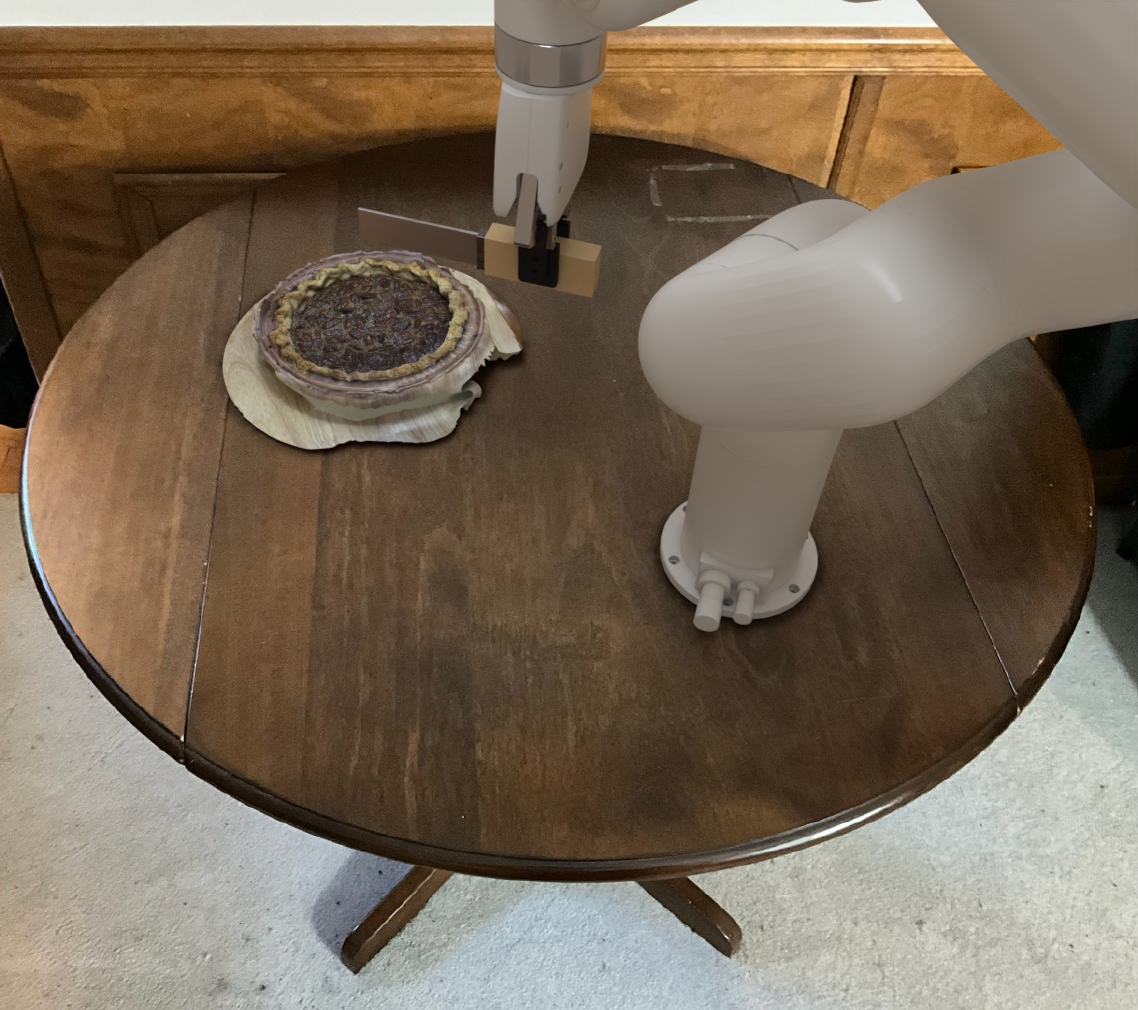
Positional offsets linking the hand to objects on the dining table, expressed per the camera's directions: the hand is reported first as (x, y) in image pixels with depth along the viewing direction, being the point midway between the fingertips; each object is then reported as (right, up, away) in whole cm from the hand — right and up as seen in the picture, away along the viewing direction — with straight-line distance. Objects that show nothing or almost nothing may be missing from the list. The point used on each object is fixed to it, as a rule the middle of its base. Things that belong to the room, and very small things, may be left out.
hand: (543, 270), depth 83 cm
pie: (-16, -4, +16) cm, 23 cm away
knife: (-4, +1, +1) cm, 5 cm away
